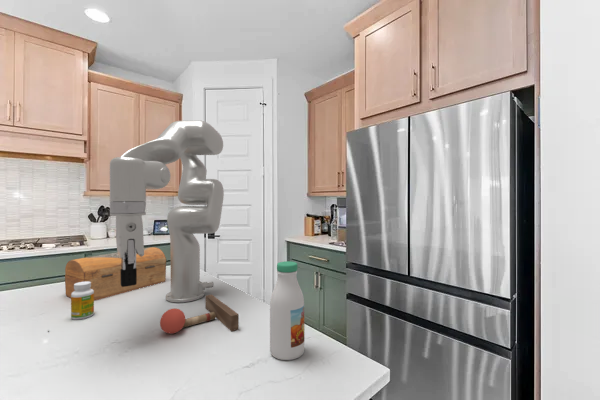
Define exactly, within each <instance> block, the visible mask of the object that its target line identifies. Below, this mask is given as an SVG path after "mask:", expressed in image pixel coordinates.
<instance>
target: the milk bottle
mask: <svg viewBox="0 0 600 400" xmlns="http://www.w3.org/2000/svg"><path fill="white" fill-rule="evenodd" d="M298 268H299V267H298V263H297V262H295V261H288V260H287V261H280V262H278V263H277V264H276V271H277V272H276V274H277V278H276V279H277V280H276V284H275V286H274V287H273V290H272V293H271V297H270V302H269V303H270V305H269V308H270V309H269V352H270V354H271V356H272V357H274V358H275V359H278V360H282V361H292V360H295V359H296V360H297V359H298V358H300V357H302V356H303V354H304V352H305V299H304V294H303V291H302V289H301V286H300V284H299V281H298V278H297V277H298V276H297V274H298Z"/></svg>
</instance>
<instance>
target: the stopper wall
mask: <svg viewBox="0 0 600 400" xmlns="http://www.w3.org/2000/svg"><path fill="white" fill-rule="evenodd" d="M205 309H206V310H207V311H208V313H211V312H215V315H216V318H215V319H217V320H218V321H219V322H220V323H221V324H222V325H223V326H225V328H227V329H228V331H230V332H235V331H239V319H240V318H239V313H238V312H236V311H235V310H233V309H232V308H231V307H230V306H228V305H227V304H226V303H224V302H222V300H220V299H219V298H218V297H216V296H214V294H205Z"/></svg>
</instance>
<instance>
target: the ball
mask: <svg viewBox="0 0 600 400" xmlns="http://www.w3.org/2000/svg"><path fill="white" fill-rule="evenodd" d="M185 319H186V315H185V313H184V312H183V310H181V309H179V308H170V309H167V310H166V311H165V312H164V313H163V314H162V315H161V317H160V321H159V325H160V329H161V330H162V331H163V332H165V333H166V334H176V333H178V332H180V331H181V330H182V329H183V326H184V324H185Z"/></svg>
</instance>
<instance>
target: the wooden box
mask: <svg viewBox="0 0 600 400" xmlns="http://www.w3.org/2000/svg"><path fill="white" fill-rule="evenodd" d="M136 268H137V284H136V285H132V286H126V287H122V286H121V269H122V268H121V257H120V256H119V255H118V253H117V251H116V252H112V253H106V254H98V255H93V256H92V255H91V256H88V257H87V256H86V257H82V258H80V257H79V258H76V259H71V260H69V261H68V262H67V263H66V265H65V269H64V270H65V271H64V272H65V273H64V285H65V288H64V289H65V296H66V297H67V298H70V299H71V294H72V292H74V291H75V290H74V284H75V283H78V282H85V281H89V282H91V287H90V289H93V290H94V302H95V301H100V300H101V299H107V298H110V297H114V296H117V295H118V296H119V295H121V294H124V293H129V292H133V291H136V290H139V288H140V289H143V287H144V288H147V286H148V287H151V286H155V285H158V283H159V284H162V283H165V282H166V277H167V274H166V273H167V257H166V255H165V253H164V252H163V250H162V249H160V248H159V247H153V246H152V247H146V248H145V247H144V255H143V256H142V257H140V256H139V255H138V254H137V253H136ZM161 282H162V283H161ZM154 284H155V285H154ZM150 285H151V286H150ZM132 290H133V291H132Z"/></svg>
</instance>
